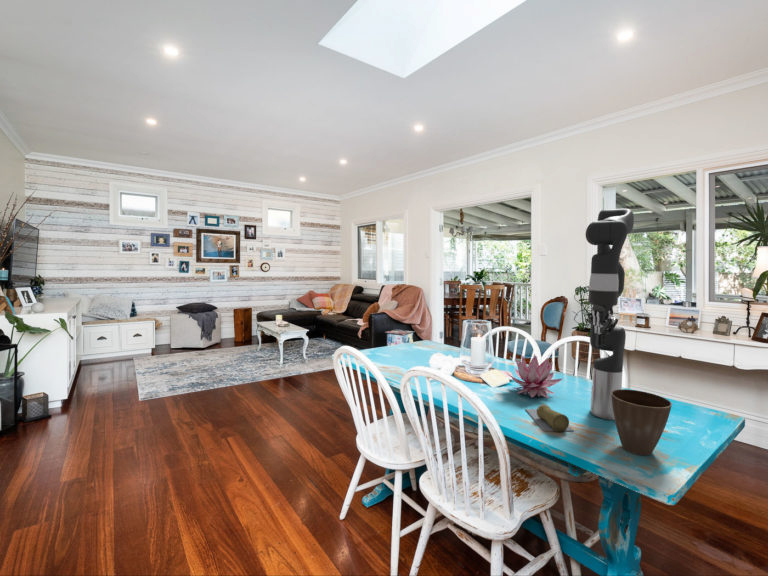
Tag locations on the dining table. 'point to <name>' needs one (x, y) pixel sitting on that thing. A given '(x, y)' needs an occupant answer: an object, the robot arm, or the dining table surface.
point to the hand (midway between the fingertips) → (600, 346)
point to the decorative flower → (535, 377)
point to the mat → (543, 421)
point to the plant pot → (639, 419)
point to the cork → (553, 418)
